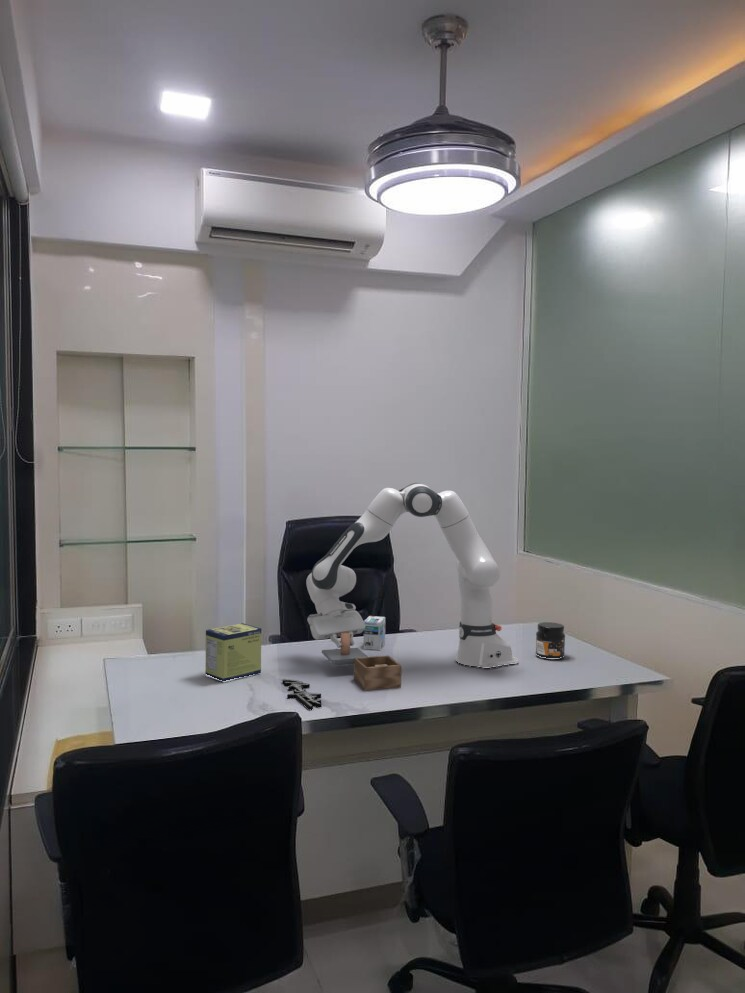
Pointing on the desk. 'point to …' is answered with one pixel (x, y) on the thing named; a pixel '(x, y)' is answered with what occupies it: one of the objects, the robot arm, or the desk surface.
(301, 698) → the nameplate
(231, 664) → the protein box
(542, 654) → the supplement container
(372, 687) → the box
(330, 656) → the lid
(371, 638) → the light bulb box
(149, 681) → the desk surface
